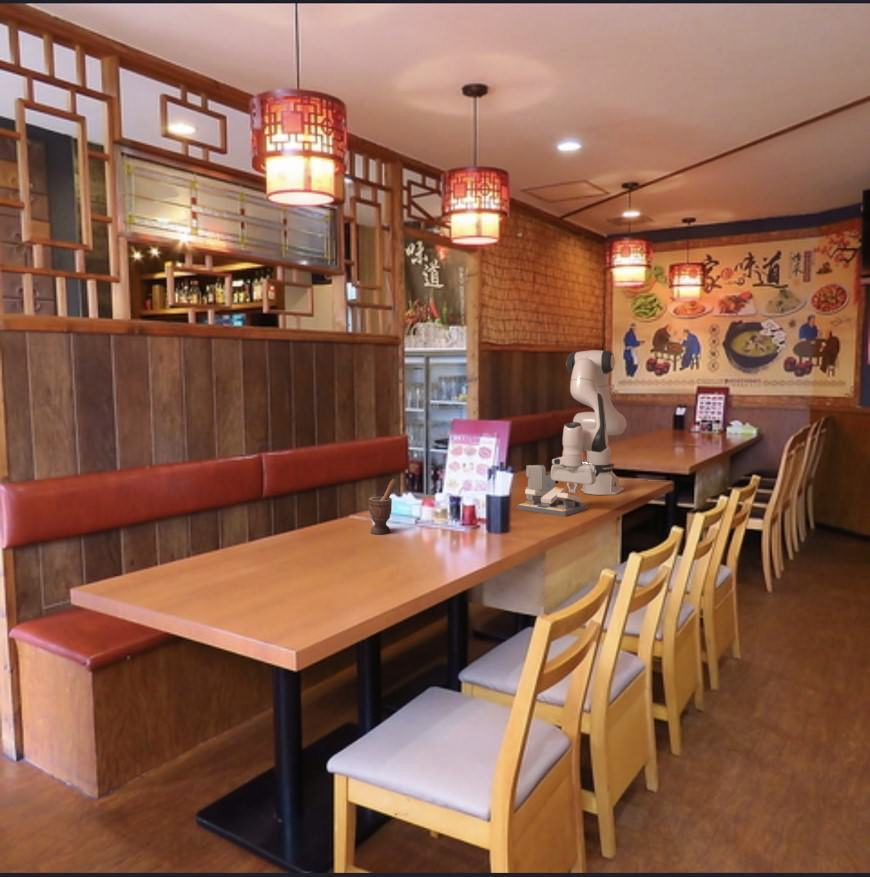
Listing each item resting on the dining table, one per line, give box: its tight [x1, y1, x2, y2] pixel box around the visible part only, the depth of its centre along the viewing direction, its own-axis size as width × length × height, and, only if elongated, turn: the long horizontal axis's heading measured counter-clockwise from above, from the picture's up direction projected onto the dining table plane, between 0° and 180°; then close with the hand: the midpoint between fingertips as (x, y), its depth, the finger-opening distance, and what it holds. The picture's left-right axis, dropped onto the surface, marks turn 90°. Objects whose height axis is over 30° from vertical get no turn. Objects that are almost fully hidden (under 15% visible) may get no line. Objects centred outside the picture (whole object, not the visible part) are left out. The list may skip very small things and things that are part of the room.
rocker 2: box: [541, 486, 566, 504], centre depth 318 cm, size 12×5×2 cm, turn 139°
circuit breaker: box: [525, 464, 559, 501], centre depth 342 cm, size 8×14×15 cm, turn 89°
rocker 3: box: [557, 492, 582, 504], centre depth 312 cm, size 12×5×2 cm, turn 139°
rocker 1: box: [524, 488, 548, 497], centre depth 323 cm, size 12×5×2 cm, turn 139°
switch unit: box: [516, 496, 588, 517], centre depth 317 cm, size 18×24×5 cm
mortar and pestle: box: [368, 478, 399, 535], centre depth 280 cm, size 12×9×20 cm
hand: (572, 492), depth 314 cm, fingers closed
